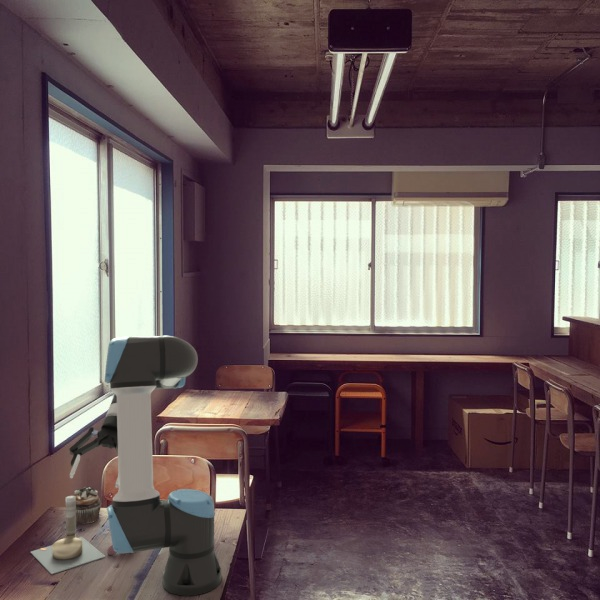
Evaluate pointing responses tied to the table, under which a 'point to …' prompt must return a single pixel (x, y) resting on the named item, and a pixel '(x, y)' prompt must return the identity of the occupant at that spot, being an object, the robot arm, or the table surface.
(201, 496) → the robot arm
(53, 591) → the table surface
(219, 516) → the table surface
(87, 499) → the cupcake
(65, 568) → the base
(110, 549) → the video game controller
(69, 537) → the cream oval with post
